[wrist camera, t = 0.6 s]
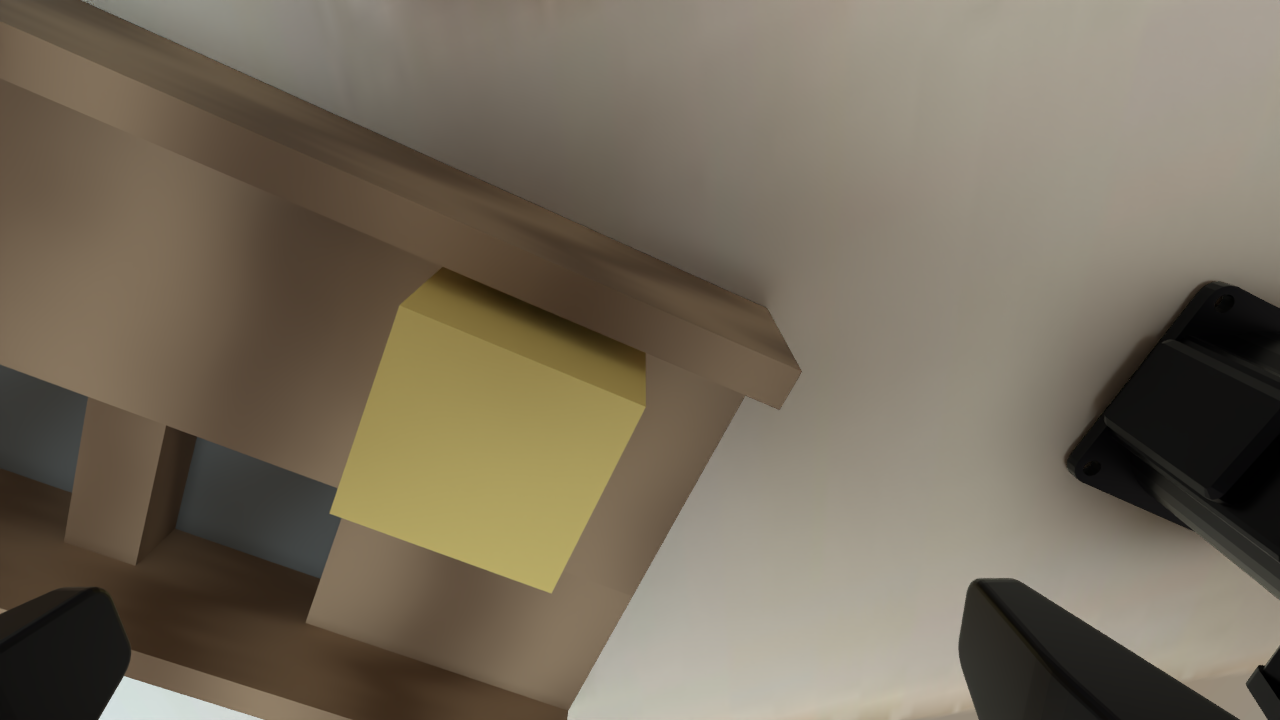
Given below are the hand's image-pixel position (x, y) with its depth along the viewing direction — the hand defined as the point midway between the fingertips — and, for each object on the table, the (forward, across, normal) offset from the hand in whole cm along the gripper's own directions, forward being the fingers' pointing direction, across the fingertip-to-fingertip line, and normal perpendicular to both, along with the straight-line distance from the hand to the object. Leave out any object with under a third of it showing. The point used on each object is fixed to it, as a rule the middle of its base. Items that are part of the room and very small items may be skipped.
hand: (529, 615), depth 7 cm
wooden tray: (+12, +10, +2) cm, 16 cm away
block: (+10, +2, +2) cm, 11 cm away
